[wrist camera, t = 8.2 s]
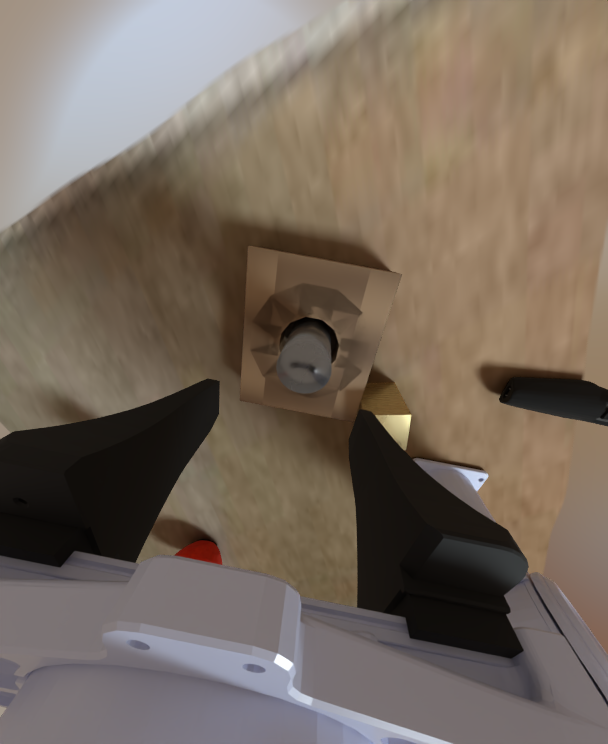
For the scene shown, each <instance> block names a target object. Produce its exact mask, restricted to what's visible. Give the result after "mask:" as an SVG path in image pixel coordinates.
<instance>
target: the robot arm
mask: <svg viewBox="0 0 608 744" xmlns="http://www.w3.org/2000/svg"><path fill="white" fill-rule="evenodd" d="M219 383H220V381H217V380H212V379H206V380H203V381H201V382H199V383H196V384H194V385H192V386H190V387H188V388H185V389H183V390H181V391H179V392H176V393H174V394H172V395H169V396H167V397H164V398H162V399H159V400H157V401H154V402H152V403H149V404H146V405H143V406H140V407H137V408H134V409H131V410H128V411H124V412H121V413H117V414H113V415H109V416H105V417H101V418H97V419H92V420H87V421H82V422H77V423H71V424H66V425H60V426H53V427H46V428H38V429H31V430H23V431H14V432H12V433H10V434H9V435H7V436H5V437H3V438H2V439H0V706H2V707H6V708H7V709H6V710H5V711H4V713H3V714H2V716H1V717H0V744H608V655H607V653H606V652H605V650H604V649H603V648H602V646H601V645H600V643H599V642H598V640H597V639H596V638H595V636H594V635H593V633H592V632H591V631H590V629H589V628H588V626H587V625H586V624H585V622H584V621H583V619H582V618H581V617H580V615H579V614H578V612H577V611H576V610H575V608H574V607H573V606H572V604H571V603H570V601H569V600H568V599H567V598H566V596H565V595H564V593H563V592H562V591H561V590H560V588H559V587H558V586H557V584H556V583H555V582H554V581H552V580H550V579H548V578H547V577H543V576H542V575H541V574H540V573H538V572H535V573H531V574H529V573H528V572H527V570H528V567H529V566H528V562H527V559H526V558H525V556H524V555H523V553H522V552H521V550H520V548H519V547H518V545H517V544H516V542H515V541H514V539H513V538H512V536H511V535H510V533H509V531H508V530H507V529H505V528H504V527H502V526H500V525H499V524H497V523H496V522H495V520H494V519H493V517H492V515H491V514H490V512H489V511H488V509H487V507H486V506H485V504H484V503H483V501H482V499H481V498H480V496H479V495H478V493H477V491H478V490H479V488H480V487H481V486H482V484H483V483H484V482H485V480H486V479H487V478H488V474H487V472H486V471H483V470H478V469H472V468H467V467H462V466H457V465H451V464H446V463H441V462H436V461H431V460H425V459H420V458H415V459H412V458H411V457H410V456H409V455H408V454H407V453H406V452H405V451H404V450H403V449H402V448H401V447H400V446H399V444H398V443H397V442H396V441H395V440H394V439H393V438H392V436H391V435H390V434H389V433H388V431H387V430H386V429H385V428H384V426H383V425H382V424H381V423H380V421H379V420H378V419H377V418H376V416H375V415H374V414H373V413H372V412H371V411H367V410H362V409H359V411H358V414H357V417H356V420H355V423H354V426H353V429H352V432H351V435H350V438H349V461H350V469H351V476H352V483H353V490H354V496H355V505H356V522H357V561H358V594H357V608H356V607H351V606H346V605H341V604H336V603H331V602H326V601H321V600H316V599H311V598H306V597H301V596H300V595H299V593H298V591H297V590H296V589H295V588H294V587H293V586H291V585H290V584H289V583H288V582H286V581H285V580H283V579H280V578H277V577H274V576H271V575H269V574H265V573H260V572H255V571H250V570H245V569H240V568H235V567H230V566H225V565H220V564H215V563H210V562H205V561H200V560H195V559H190V558H185V557H180V556H171V555H157V556H155V557H152V558H149V559H147V560H145V561H142V562H141V563H140V564H137V563H135V562H136V560H137V558H138V556H139V554H140V552H141V550H142V547H143V545H144V543H145V541H146V539H147V537H148V535H149V533H150V531H151V529H152V527H153V525H154V523H155V521H156V519H157V517H158V515H159V513H160V511H161V509H162V507H163V505H164V503H165V502H166V500H167V498H168V496H169V494H170V492H171V490H172V489H173V487H174V485H175V483H176V481H177V480H178V478H179V476H180V474H181V473H182V471H183V469H184V468H185V466H186V465H187V463H188V462H189V461H190V459H191V458H192V456H193V455H194V453H195V452H196V451H197V449H198V448H199V446H200V445H201V443H202V442H203V441H204V439H205V438H206V436H207V435H208V433H209V432H210V430H211V428H212V427H213V425H214V423H215V421H216V419H217V417H218V415H219Z"/></svg>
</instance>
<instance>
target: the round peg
mask: <svg viewBox="0 0 608 744" xmlns="http://www.w3.org/2000/svg"><path fill="white" fill-rule="evenodd" d="M276 370H277V374H278V377H279V379H280V381H281V382H282V383H283V385H285V386H286V387H287V388H288V389H290V390H292V391H294V392H297V393H303V394H307V393H313V392H316V391H318V390H320V389H322V388H323V387H324V386H325V385H326V384H327V383H328V381H329V379H330V377H331V372H332V365H331V338H330V328H329V326H328V324H326V323H325V322H324V321H323V320H320V319H315V318H310V317H304V318H301V319H299V320H298V321H297V322H296V323H295V325H294V326H293V329H292V331H291V333H290V335H289V337H288V339H287V341H286V343H285V345H284V347H283V349H282V352H281V354H280V356H279V358H278V360H277V365H276Z"/></svg>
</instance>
